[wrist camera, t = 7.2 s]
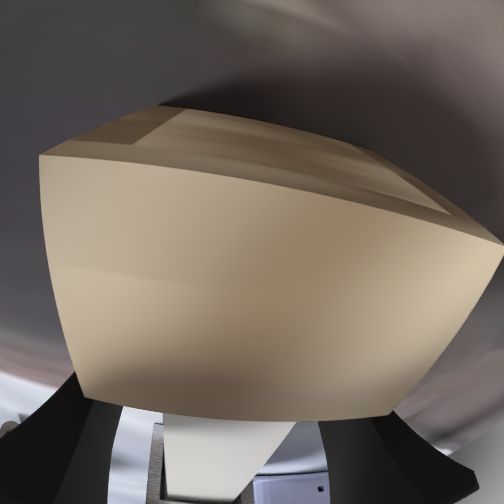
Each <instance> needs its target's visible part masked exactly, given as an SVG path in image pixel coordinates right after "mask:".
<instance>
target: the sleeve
mask: <svg viewBox="0 0 504 504" xmlns="http://www.w3.org/2000/svg"><path fill="white" fill-rule="evenodd" d="M146 504H255V500H254V488H253V479H252V480H251V481H250V482H249V483H248V485H247V486H246V487H245V488H244V489H243V490H242V492H241V493H240V494H239V495H238V496H237V497H236V498H235V500H234V501H233V502H232V503H209V502H195V501H184V500H174V499H168V492H167V481H166V468H165V453H164V434H163V425H160V424H154V426H153V434H152V443H151V451H150V461H149V470H148V481H147V493H146Z"/></svg>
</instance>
